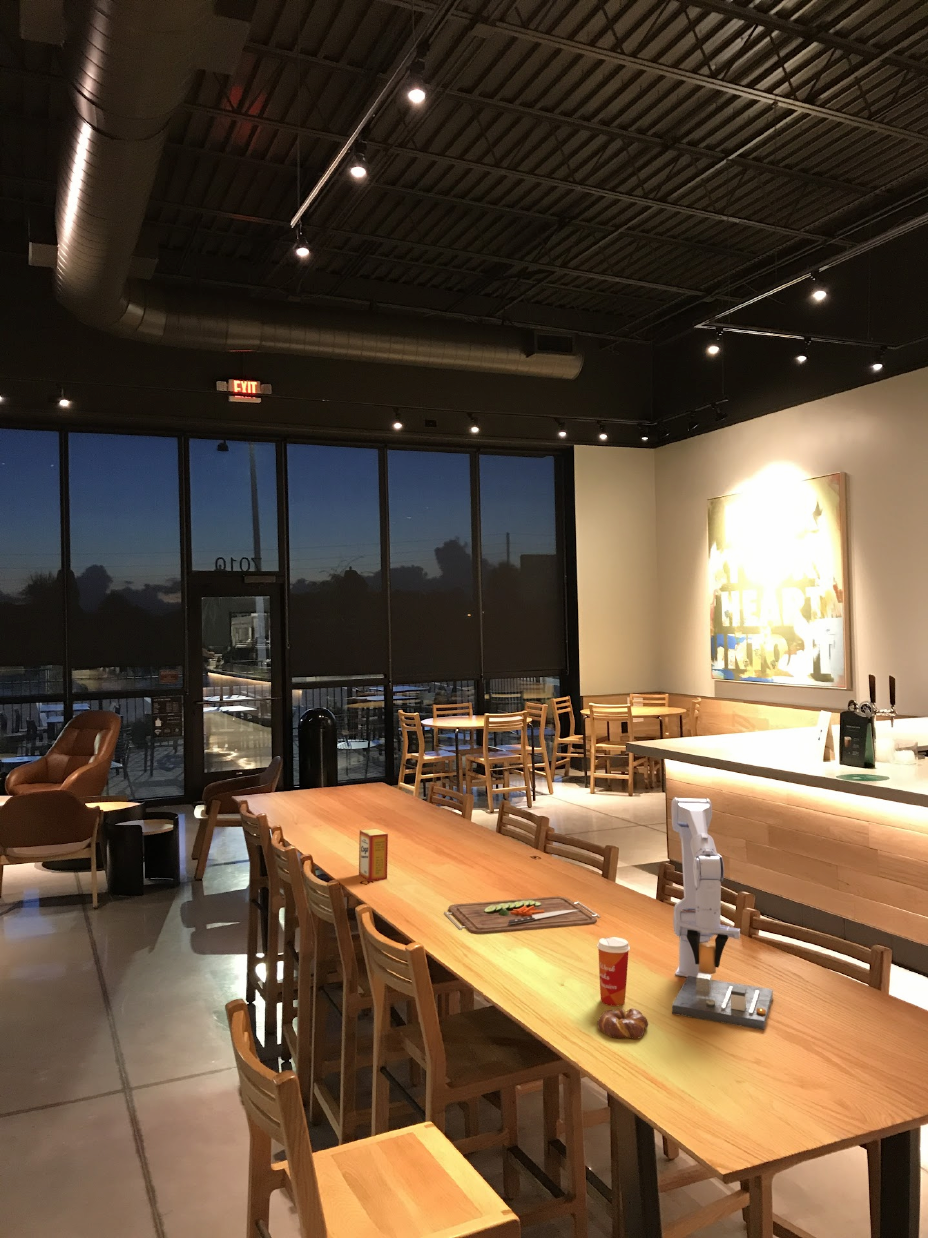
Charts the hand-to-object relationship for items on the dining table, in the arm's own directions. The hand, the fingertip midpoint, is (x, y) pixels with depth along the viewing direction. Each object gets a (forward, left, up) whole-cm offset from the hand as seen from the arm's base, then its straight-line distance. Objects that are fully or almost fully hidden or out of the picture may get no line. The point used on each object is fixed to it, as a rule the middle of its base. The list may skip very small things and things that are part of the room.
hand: (707, 964), depth 220 cm
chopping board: (-43, -62, -9) cm, 76 cm away
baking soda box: (-61, -124, -9) cm, 138 cm away
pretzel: (+24, -14, -9) cm, 29 cm away
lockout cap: (0, 0, -1) cm, 1 cm away
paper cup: (+10, -20, -9) cm, 24 cm away
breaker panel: (+1, +4, -9) cm, 9 cm away
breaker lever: (+6, +8, -6) cm, 12 cm away
